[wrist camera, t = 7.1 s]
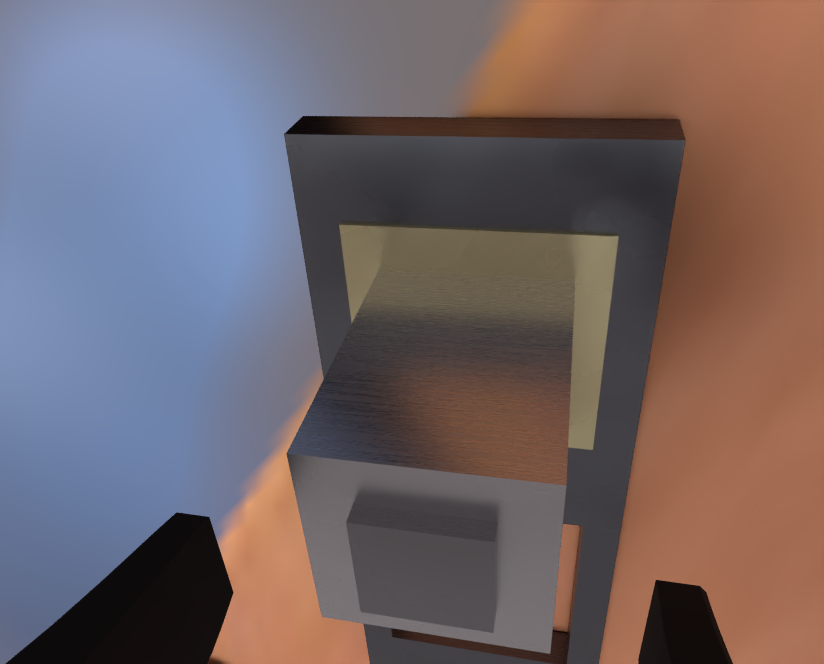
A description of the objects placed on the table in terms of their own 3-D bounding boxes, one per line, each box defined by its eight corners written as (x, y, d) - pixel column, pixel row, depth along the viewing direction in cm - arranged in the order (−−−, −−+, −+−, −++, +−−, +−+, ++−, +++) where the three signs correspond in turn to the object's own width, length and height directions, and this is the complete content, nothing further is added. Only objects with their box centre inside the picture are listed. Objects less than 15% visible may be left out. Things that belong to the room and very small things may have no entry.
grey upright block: (575, 281, 15) (564, 505, 10) (562, 432, 18) (549, 674, 13) (378, 270, 16) (277, 471, 11) (392, 415, 19) (315, 635, 13)
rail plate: (679, 119, 14) (686, 142, 13) (587, 699, 27) (587, 734, 25) (303, 115, 16) (282, 135, 15) (382, 663, 28) (374, 695, 27)
